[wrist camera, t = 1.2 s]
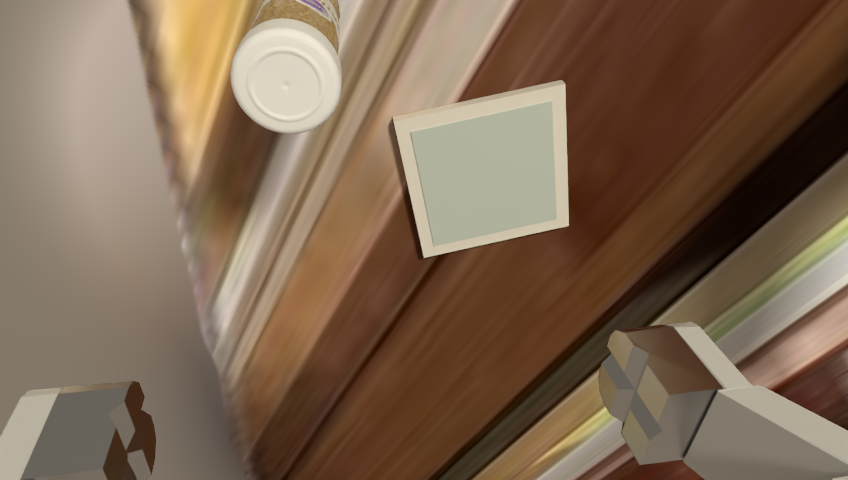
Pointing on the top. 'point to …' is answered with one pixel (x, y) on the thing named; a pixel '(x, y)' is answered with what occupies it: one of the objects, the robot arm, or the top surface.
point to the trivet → (487, 167)
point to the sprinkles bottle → (289, 65)
